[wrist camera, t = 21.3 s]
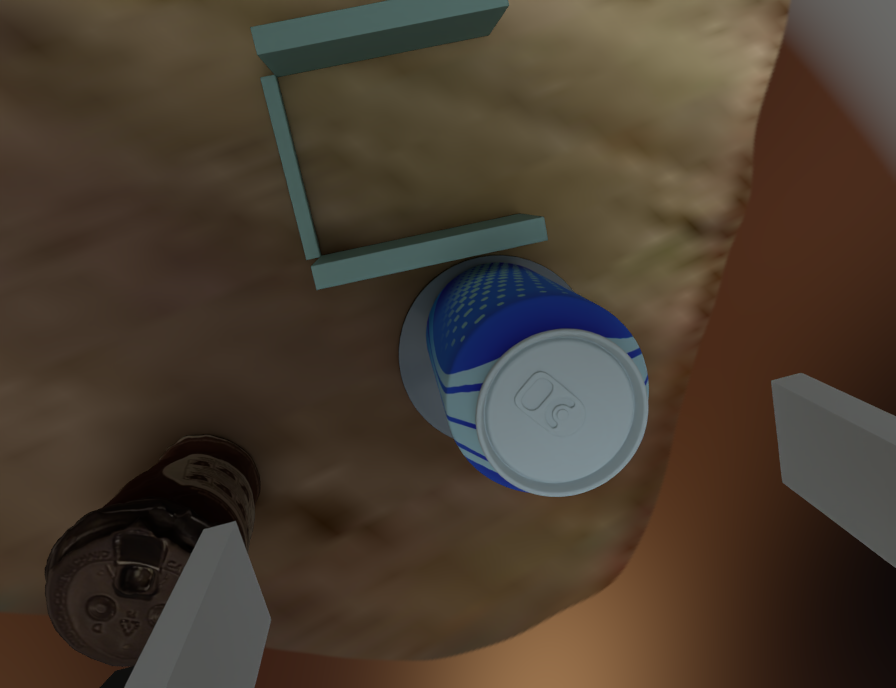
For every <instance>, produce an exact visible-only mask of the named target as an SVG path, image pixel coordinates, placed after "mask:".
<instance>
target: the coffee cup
mask: <svg viewBox="0 0 896 688" xmlns="http://www.w3.org/2000/svg"><path fill="white" fill-rule="evenodd" d="M259 493H260V478H259V474H258V471H257V469H256V467H255V465H254V463H253V461H252V459H251V457H250V456H249V455H248V454H247V453H246V452H245V451H244V450H242V449H241V448H240V447H238V446H237V445H235V444H233V443H231V442H229V441H228V440H225V439H221V438H217V437H214V436H211V435H201V436H185V437H183V438H181V439H180V440H179V441H178V442H177V443H176V444H174V445H173V446H170V447H169V448H167V449H166V452H165V453H164V455H162V457H161V458H160V459H159V462H158V463H157V464H156V465H155V466H153V467H152V468H151V469H149V470H148V471H146V472H144V473H142V474H140V475H139V476H137V477H136V478H134V479H133V480H131V481H130V482H128V483H127V484H126V485H125V486H124V487H123V488H122V489H120V491H119V492H118V493H117V494H116V495H115V497H114V498H113V499H112V500H111V501H110V502H108V503H107V504H106V505H105V506H104V507H103V508H101V509H98V510H95V511H92V512H89V513H88V514H86V515H84V516H83V517H82V518H81V519H80V520H78V521H77V522H76V524H75V525H74V526H72V527H71V528H69V529H68V530H67V531H66V532H65V533H64V534H63V536H62V537H60V538H59V539H58V540H57V542H56V543H55V545H54V546H53V548H52V549H51V553H50V554H49V557H48V559H47V565H46V567H45V580H46V585H45V596H46V602H47V609H48V614H49V617H50V619H51V621H52V624H53V626H54V628H55V630H56V631H57V632H58V633H59V635H60V636H61V637H62V638H63V639H64V640H65V641H66V642H67V643H68V644H69V645H70V646H71V647H72V648H73V649H74V650H76V651H78V652H80V653H82V654H84V655H86V656H87V657H89V658H92V659H94V660H97V661H100V662H103V663H105V664H108V665H111V666H122V667H123V666H135V665H136V663H137V661H138V659H139V657H140V655H141V653H142V651H143V649H144V647H145V645H146V643H147V641H148V639H149V637H150V635H151V633H152V631H153V629H154V627H155V625H156V623H157V621H158V619H159V617H160V615H161V613H162V611H163V609H164V607H165V605H166V603H167V601H168V599H169V597H170V595H171V593H172V591H173V589H174V587H175V585H176V583H177V581H178V579H179V577H180V575H181V573H182V571H183V569H184V567H185V565H186V563H187V561H188V559H189V557H190V555H191V553H192V551H193V549H194V547H195V545H196V543H197V541H198V539H199V537H200V535H201V533H202V531H203V529H207V528H211V527H215V526H219V525H222V524H226V523H230V522H234V521H236V523H237V526H238V528H239V531H240V534H241V537H242V540H243V542H244V545H245V548H246V551H247V554H248V550H249V545H250V539H251V535H252V532H253V526H254V520H255V507H254V506H255V503H256V501H257V499H258V496H259Z"/></svg>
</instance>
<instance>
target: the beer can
mask: <svg viewBox="0 0 896 688" xmlns="http://www.w3.org/2000/svg"><path fill="white" fill-rule="evenodd" d="M426 343H427V350H428V353H429V357H430V361H431V364H432V368H433V371H434V375H435V378H436V382H437V385H438V389H439V392H440V396H441V399H442V403H443V406H444V410H445V414H446V417H447V421H448V424H449V427H450V430H451V433H452V436H453V438H454V440H455V442H456V444H457V445H458V447H459V449H460V450H461V452H462V453H463V455H464V456H465V457H466V458H467V460H468V461H469V462H470V463H471V464H472V465H473V466H474V467H475V468H476V469H477V470H478V471H480V472H481V473H482V474H483V475H485V476H486V477H488V478H489V479H491V480H493V481H495V482H497V483H498V484H501V485H503V486H506V487H508V488H511V489H515V490H518V491H523V492H529V493H533V494H536V495H541V496H549V497H563V496H571V495H577V494H580V493H584V492H587V491H589V490H592V489H594V488H596V487H598V486H600V485H602V484H604V483H605V482H607V481H608V480H610V479H611V478H613V477H614V476H615V475H616V474H617V473H618V472H620V471H621V470H622V469H623V468H624V467H625V466H626V464H627V463H628V462H629V461H630V459H631V458H632V457H633V455H634V454H635V452H636V450H637V448H638V447H639V445H640V443H641V440H642V438H643V435H644V432H645V429H646V424H647V418H648V395H649V385H648V375H647V369H646V365H645V361H644V358H643V355H642V353H641V350H640V348H639V346H638V344H637V342H636V340H635V339H634V337H633V336H632V334H631V333H630V332H629V331H628V329H627V328H626V327H625V326H624V325H623V324H622V323H621V322H620V321H619V320H618V319H617V318H616V317H615V316H614V315H612V314H611V313H610V312H608V311H607V310H605V309H604V308H602V307H600V306H599V305H597V304H595V303H593V302H591V301H589V300H587V299H585V298H583V297H582V296H580V295H578V294H576V293H574V292H572V291H570V290H568V289H566V288H564V287H563V286H561V285H559V284H557V283H555V282H553V281H551V280H549V279H547V278H545V277H544V276H542V275H540V274H538V273H536V272H534V271H532V270H530V269H528V268H526V267H523V266H520V265H516V264H511V263H501V262H498V263H488V264H483V265H479V266H476V267H473V268H471V269H468V270H466V271H464V272H463V273H461V274H459V275H458V276H457V277H455V278H454V279H453V280H451V281H450V282H449V283H448V284H447V285H446V286H445V287H444V288H443V290H442V291H441V292H440V294H439V295H438V297H437V298H436V300H435V302H434V304H433V306H432V308H431V311H430V313H429V317H428V321H427V327H426Z"/></svg>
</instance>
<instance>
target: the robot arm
mask: <svg viewBox="0 0 896 688" xmlns="http://www.w3.org/2000/svg"><path fill="white" fill-rule="evenodd" d="M771 383H772V393H773V402H774V411H775V419H776V429H777V438H778V447H779V455H780V465H781V473H782V482H783V483H784V484H785V485H787V486H788V487H789V488H791V489H792V490H793V491H795V492H796V493H797V494H799V495H800V496H801V497H803V498H804V499H805V500H807V501H808V502H809V503H811V504H812V505H813V506H815V507H816V508H817V509H819V510H820V511H821V512H823V513H824V514H825V515H826V516H828V517H829V518H831V519H832V520H833V521H834V522H836V523H837V524H838V525H840V526H841V527H842V528H844V529H845V530H846V531H848V532H849V533H850V534H852V535H853V536H854V537H856V538H857V539H858V540H860V541H861V542H862V543H864V544H865V545H866V546H867V547H869V548H870V549H871V550H873V551H874V552H876V553H877V554H878V555H879V556H881V557H882V558H883V559H885V560H886V561H887V562H889V563H890V564H891V565H893V566H894V567H895V568H896V416H894V415H891V414H889V413H887V412H885V411H882V410H881V409H878V408H876V407H874V406H872V405H870V404H868V403H865V402H863V401H861V400H859V399H857V398H855V397H852V396H850V395H848V394H846V393H844V392H842V391H840V390H837V389H835V388H833V387H831V386H829V385H826V384H824V383H822V382H820V381H818V380H816V379H814V378H811V377H809V376H807V375H805V374H803V373H799V374H795V375H791V376H788V377H784V378H780V379H776V380H772V381H771ZM270 622H271V618H270V615H269V612H268V609H267V606H266V604H265V601H264V598H263V595H262V593H261V590H260V587H259V584H258V581H257V579H256V576H255V573H254V570H253V567H252V565H251V562H250V559H249V556H248V554H247V551H246V548H245V545H244V542H243V540H242V537H241V534H240V531H239V528H238V526H237V523H236V521H234V522H230V523H226V524H222V525H219V526H215V527H211V528H207V529H203V531H202V533H201V535H200V537H199V539H198V541H197V543H196V545H195V547H194V549H193V551H192V553H191V555H190V557H189V559H188V561H187V563H186V565H185V567H184V569H183V571H182V573H181V575H180V577H179V579H178V581H177V583H176V585H175V587H174V589H173V591H172V593H171V595H170V597H169V599H168V601H167V603H166V605H165V607H164V609H163V611H162V613H161V615H160V617H159V619H158V621H157V623H156V625H155V627H154V629H153V631H152V633H151V635H150V637H149V639H148V641H147V643H146V645H145V647H144V649H143V651H142V653H141V655H140V657H139V659H138V661H137V663H136V665H135V666H132V667H129V668H125V669H121V670H117V671H115V672H114V673H113V674H112V675H111V676H110V677H109V678H108V679H107V680H106V682H105V683H104V684H103V685H102V686H101V687H100V688H254V687H255V683H256V679H257V675H258V670H259V666H260V662H261V658H262V654H263V650H264V646H265V642H266V638H267V634H268V630H269V626H270Z"/></svg>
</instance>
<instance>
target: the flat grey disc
mask: <svg viewBox="0 0 896 688" xmlns="http://www.w3.org/2000/svg"><path fill="white" fill-rule="evenodd" d="M498 262H501V263H511V264H516V265H520V266H523V267H526V268H528V269H530V270H532V271H534V272H536V273H538V274H540V275H542V276H544V277H545V278H547V279H549V280H551V281H553V282H555V283H557V284H559V285H561V286H563V287H564V288H566V289H568V290H570V291H572V292H574V291H573V290H572V289H571V288H570V287H569V286H568V285H567V283H566V282H565V281H564V280H563V279H561V278H560V277H559V276H557V275H556V274H555V273H554V272H552V271H550V270H549V269H547V268H545V267H544V266H542V265H540V264H537V263H535V262H532V261H530V260H527V259H523V258H519V257H515V256H507V255H488V256H481V257H476V258H472V259H469V260H465V261H463V262H460V263H458V264H456V265H453V266H452V267H450V268H448V269H447V270H445V271H443V272H442V273H440V274H439V275H438V276H436V277H435V278H434V279H433V280H431V281H430V282H429V283H428V284H427V285H426V287H425V288H424V289H423V290H422V291H421V292H420V293H419V295H418V296H417V297H416V299H415V300H414V302H413V304H412V305H411V307H410V309H409V311H408V313H407V315H406V318H405V320H404V323H403V327H402V331H401V334H400V342H399V365H400V371H401V377H402V380H403V383H404V387H405V389H406V391H407V393H408V396H409V398H410V400H411V401H412V403H413V404H414V406H415V407H416V409H417V410H418V411H419V413H420V414H421V415H422V416H423V417H424V418H425V419H426V420H427V421H428V422H429V423H430V424H431V425H432V426H433V427H435V428H436V429H438V430H439V431H441V432H442V433H444V434H446V435H448V436H450V437H452V438H453V436H452V433H451V430H450V427H449V424H448V421H447V417H446V414H445V410H444V406H443V403H442V399H441V396H440V392H439V389H438V385H437V382H436V378H435V375H434V371H433V368H432V364H431V361H430V357H429V353H428V350H427V343H426V327H427V321H428V317H429V313H430V311H431V308H432V306H433V304H434V302H435V300H436V298H437V297H438V295H439V294H440V292H441V291H442V290H443V288H444V287H445V286H446V285H447V284H448V283H449V282H450V281H451V280H453V279H454V278H455V277H457V276H458V275H459V274H461V273H463V272H464V271H466V270H468V269H471V268H473V267H476V266H479V265H483V264H488V263H498ZM453 439H454V438H453Z"/></svg>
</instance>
